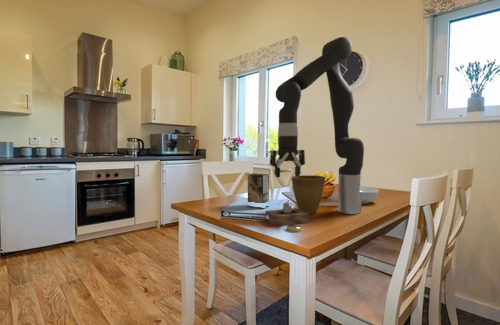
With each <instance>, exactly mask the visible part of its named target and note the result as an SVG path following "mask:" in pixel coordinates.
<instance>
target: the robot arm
mask: <svg viewBox="0 0 500 325" xmlns="http://www.w3.org/2000/svg"><path fill="white" fill-rule="evenodd" d="M352 51H353V44H352V42H351V40H350V39H349V38H348V37H346V36H341V37H337V38H334V39H332V40H330V41H328V42H327V43H325V44H324V45H323V47H322V50H321V56H319V57H317V58H315V60H313V61H310V63H308V64H307V65H304V66H303V67H302V69H300V70H299V71H298V72H296V73H295V74H294V75H293V76H292V77H290V78H289V79H287V80H285V81H284V82H282V83H281V84H279V86H278V87H276V90H275V99H276V100H277V101H278V102H280V103H283V106H282V107H281V108H280V109H279V110H278V127H277V128H278V129H277V135H278V136H277V147H278V149H277V150H273V149H272V150H270V153H269V154H270V157H269V166H272V167H274V176H275V177H276V178H280V177H281V168H280V167H281V165H282V164H283V163H284V162H292V163H293V164H294V165H295V166H294V176H301V166H304V165H306V157H305V149H299V150H298V145H299V144H298V139H299V138H298V134H299V133H298V109H299V108H300V102H301V99H302V98H301V97H302V91H303V90H305V89H308V88H309V87H310V86H312V84H313V83H315V82H316V81H317V80H318V79H319V78H320V77H321V76H323V75H324V74H326V77H327V84H328V90H329V99H330V104H331V106H330V107H331V111H332V119H333V128H334V147H335V153H336V155H337V156H338V157H339V158H340V159H346V161H345V164H344V165H342V166H339V168H338V184H337V185H338V186H337V187H338V189H337V190H338V192H337V211H338V213H340V214H346V215H357V214H358V215H359V214H360V213H362V205H363V204H362V191H360V187H361V174H362V173H361V172H362V169H363V165H364V154H365V153H364V152H365V150H364V149H365V148H364V147H365V146H364V143H363V141H362V140H361V139H360V138H358V137H350V135H349V122H350V120H351V118H352V115H353V112H354V108H355V106H354V105H355V103H354V97H353V96H354V95H353V91H352V89H351V87H350V85H349V84H348V82H347V81H346V80H345V79H344V77H343V75H342V72H341V69H340V63H341V62H343V61H345V60H346V59H348V58H349V57H350V56H351V54H352ZM277 156H278V158H277ZM297 156H298V157H297Z"/></svg>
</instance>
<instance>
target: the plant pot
mask: <svg viewBox="0 0 500 325" xmlns="http://www.w3.org/2000/svg"><path fill="white" fill-rule="evenodd" d="M290 178H291V185H292V190H293V193H294V194H293V195H294V198H295V201H296V205H297V207H298V208H297V209H299V210H302V211H304V212H306V213H309V215H310V214H315V213H317V212H318V209H319V206H320V204H321V202H322V197H323V193H324V188H325V181H326V176H322V175H307V174H305V175H304V174H303V175H301V174H300V175H299V176H295V175H293V176H291V177H290Z"/></svg>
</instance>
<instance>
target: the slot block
mask: <svg viewBox="0 0 500 325" xmlns="http://www.w3.org/2000/svg"><path fill="white" fill-rule="evenodd" d="M266 214H267V215H268V217H269V221H268V222H269V223H270V224H272V225H274V226H275V227H282V226H288V225H293V224H294V225H299V224H308V223H310V214H309V213H306V212H304V211H302V210H299V208H297V207H294V208H292V207H291V214H283V208H281V209H274V210H273V209H271V210H265V215H266Z"/></svg>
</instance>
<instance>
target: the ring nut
mask: <svg viewBox="0 0 500 325" xmlns="http://www.w3.org/2000/svg"><path fill="white" fill-rule="evenodd" d="M286 227H287V229H286V230H287V231H288V232H291V233H300V232H302V228H303V227H302V226H301V225H299V224H292V225H286Z"/></svg>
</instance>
